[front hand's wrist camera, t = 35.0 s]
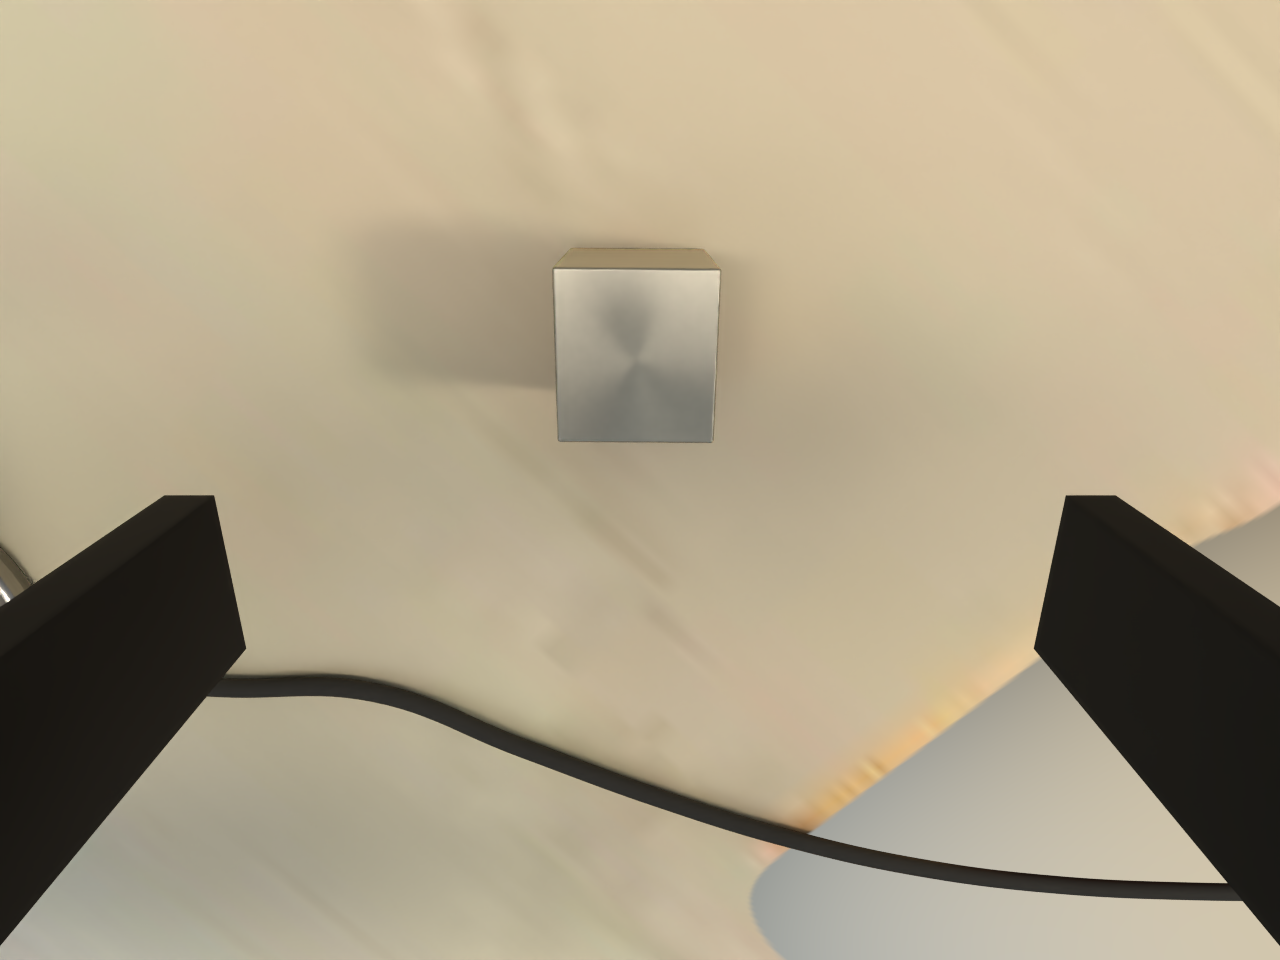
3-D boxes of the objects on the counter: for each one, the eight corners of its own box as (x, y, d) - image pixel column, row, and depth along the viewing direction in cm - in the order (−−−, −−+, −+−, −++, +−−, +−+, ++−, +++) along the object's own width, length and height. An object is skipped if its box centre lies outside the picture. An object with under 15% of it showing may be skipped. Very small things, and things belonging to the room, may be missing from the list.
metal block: (704, 248, 32) (721, 268, 26) (700, 392, 34) (713, 443, 28) (569, 247, 32) (552, 267, 26) (573, 391, 34) (557, 442, 28)
